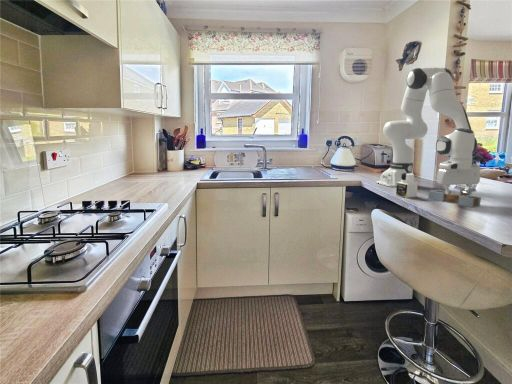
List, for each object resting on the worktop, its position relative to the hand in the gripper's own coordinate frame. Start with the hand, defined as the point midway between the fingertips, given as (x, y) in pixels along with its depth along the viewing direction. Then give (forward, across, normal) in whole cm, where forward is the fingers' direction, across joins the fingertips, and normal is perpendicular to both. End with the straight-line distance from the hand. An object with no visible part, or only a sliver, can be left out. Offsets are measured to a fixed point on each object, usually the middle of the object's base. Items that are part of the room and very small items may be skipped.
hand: (456, 193), depth 157 cm
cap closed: (+4, +2, -8) cm, 9 cm away
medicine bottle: (+5, +14, -18) cm, 23 cm away
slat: (+5, 0, +1) cm, 5 cm away
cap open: (+4, -2, +6) cm, 8 cm away
